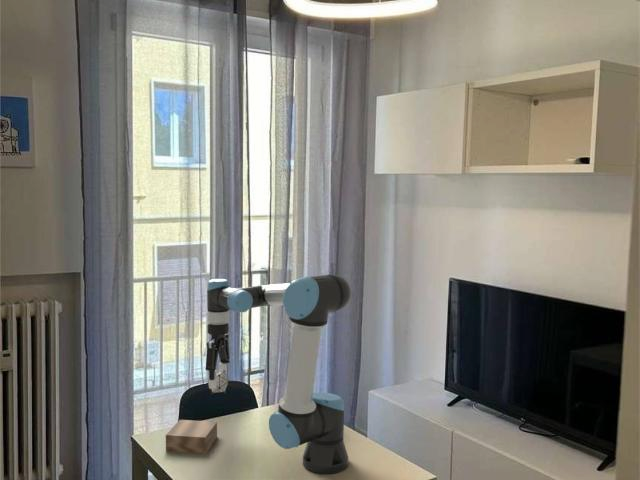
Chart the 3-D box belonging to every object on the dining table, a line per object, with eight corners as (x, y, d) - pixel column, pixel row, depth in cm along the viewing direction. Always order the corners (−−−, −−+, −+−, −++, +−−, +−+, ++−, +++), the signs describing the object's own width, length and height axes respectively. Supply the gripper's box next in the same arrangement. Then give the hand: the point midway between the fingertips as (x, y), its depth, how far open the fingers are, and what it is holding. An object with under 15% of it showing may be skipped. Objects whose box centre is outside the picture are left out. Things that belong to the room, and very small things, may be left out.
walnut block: (217, 437, 222) (217, 421, 222) (205, 454, 208) (205, 437, 208) (179, 435, 224) (179, 419, 223) (165, 451, 210) (165, 435, 209)
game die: (221, 404, 220) (223, 388, 214) (200, 394, 222) (202, 378, 215) (233, 386, 227) (235, 370, 220) (213, 376, 228) (215, 360, 222)
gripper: (220, 315, 230) (220, 374, 232) (195, 328, 210) (195, 392, 212) (239, 317, 228) (238, 376, 230) (215, 329, 208) (215, 394, 210)
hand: (218, 384), depth 221 cm, fingers closed on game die, 8 cm apart
